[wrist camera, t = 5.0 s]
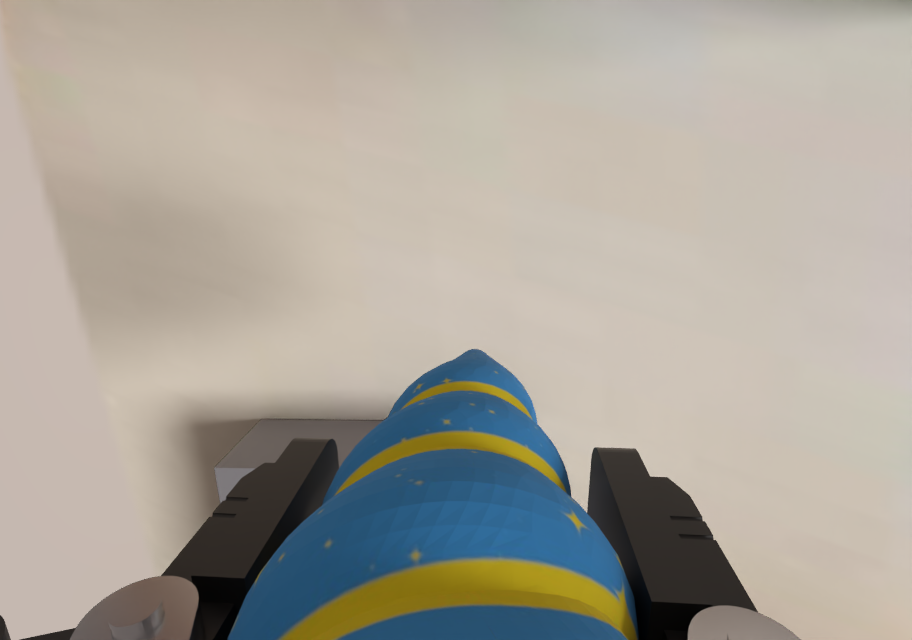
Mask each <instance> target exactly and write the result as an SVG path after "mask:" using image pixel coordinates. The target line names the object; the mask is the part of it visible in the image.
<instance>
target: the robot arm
mask: <svg viewBox="0 0 912 640" xmlns="http://www.w3.org/2000/svg"><path fill="white" fill-rule="evenodd" d="M338 469H339V460H338V450H337V445H336V442H335V440H334V439H328V438H294V439H293V440H292V441H291V442H290V443H289V445H288V446H287V447H286V449H285V450H284V451H283V453H282V454H281V455H280V457H279V458H278V459H277V461H276V462H275V463H263V464H262V465H260V466H259V467H257V468H256V469H254V470H253V471H251V472H250V473H248V474H247V475H245V476H244V477H242V478H241V479H240V480H239V481H238V483H237V484H236V485H235V486H234V488H233V489H232V490H231V491H230V492H229V494H228V495H227V496H226V500H225V501H222V502H221V503H220V505H219V506H218V507H217V508H216V510H215V511H214V512H213V516H212V517H209V518H208V519H207V521H206V522H205V523H204V524H203V525H202V527H201V528H200V529H199V530H198V531H197V533H196V534H195V535H194V536H193V538H192V539H191V540H190V541H189V542H188V544H187V545H186V546H185V547H184V549H183V550H182V551H181V552H180V553H179V555H178V556H177V557H176V558H175V560H174V561H173V562H172V563H171V564H170V566H169V567H168V568H167V569H166V571H165V572H164V573H163V574H162V575H161V576H158V577H152V578H148V579H144V580H141V581H138V582H135V583H132V584H130V585H128V586H125V587H123V588H121V589H119V590H118V591H116V592H114V593H112V594H111V595H109V596H108V597H106V598H105V599H103V600H102V601H101V602H99V603H98V604H97V605H96V606H95V607H93V608H92V609H91V610H90V611H89V612H88V613H87V614H86V615H85V617H84V618H83V619H82V620H81V621H80V623H79V624H78V626H77V627H76V628H73V629H69V630H64V631H60V632H55V633H50V634H45V635H40V636H35V637H30V638H26V639H21V640H227V639H228V636H229V634H230V632H231V629H232V627H233V625H234V622H235V620H236V618H237V616H238V613H239V611H240V609H241V606H242V604H243V602H244V600H245V597H246V595H247V593H248V592H249V590H250V588H251V587H252V585H253V583H254V582H255V580H256V578H257V577H258V575H259V573H260V572H261V570H262V569H263V568H264V566H265V565H266V564H267V562H268V561H269V560H270V559H271V557H272V556H273V555H274V553H275V552H276V551H277V549H278V548H279V547H280V546H281V544H282V543H283V542H284V541H285V539H286V538H287V537H288V536H289V535H290V534H291V533H292V532H293V531H294V530H295V529H296V528H297V527H298V526H299V525H300V524H301V523H302V522H303V521H304V520H306V519H307V518H308V517H309V516H310V515H311V514H312V513H314V512H315V511H316V510H317V509H318V508H320V507H321V506H322V503H323V500H324V497H325V495H326V493H327V491H328V489H329V487H330V485H331V483H332V481H333V479H334V477H335V475H336V473H337V471H338ZM587 514H588V515H589V516H590V517H591V518H592V519H593V520H594V522H595V523H596V524H597V525H598V527H599V528H600V530H601V531H602V533H603V534H604V535H605V537H606V538H607V540H608V541H609V543H610V544H611V546H612V547H613V549H614V550H615V552H616V553H617V555H618V556H619V559H620V562H621V564H622V567H623V569H624V572H625V574H626V577H627V580H628V582H629V585H630V587H631V590H632V592H633V595H634V600H635V608H636V616H637V624H638V631H639V640H801V639H799V638H798V637H797V636H796V635H795V634H794V633H793V632H791V631H790V630H788V629H787V628H786V627H784V626H783V625H781V624H780V623H778V622H776V621H774V620H773V619H771V618H769V617H767V616H765V615H763V614H760V613H758V611H757V610H756V608H755V606H754V604H753V603H752V601H751V599H750V598H749V596H748V594H747V593H746V591H745V589H744V587H743V586H742V584H741V582H740V581H739V579H738V577H737V575H736V574H735V572H734V570H733V569H732V567H731V565H730V564H729V562H728V560H727V558H726V557H725V555H724V553H723V552H722V550H721V548H720V547H719V545H718V543H717V541H716V540H713V535H712V533H711V531H710V529H709V528H708V526H707V524H706V523H705V521H703V520H702V516H701V514H700V512H699V511H698V509H697V507H696V506H695V504H694V502H693V500H692V499H691V497H690V496H689V495H688V494H687V493H686V492H685V491H683V490H682V489H681V488H680V487H678V486H677V485H676V484H675V483H674V482H672V481H671V480H670V479H669V478H667V477H650V476H649V474H648V472H647V469H646V467H645V465H644V463H643V461H642V459H641V457H640V455H639V453H638V452H637V450H636V449H627V448H596V447H595V448H594V449H593V453H592V459H591V472H590V485H589V498H588V511H587ZM0 640H11V639H10V636H9V633H8V630H7V627H6V624H5V621H4V619H3V618H2V617H1V616H0Z"/></svg>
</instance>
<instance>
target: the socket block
mask: <svg viewBox="0 0 912 640" xmlns="http://www.w3.org/2000/svg"><path fill="white" fill-rule="evenodd" d="M381 422H382V421H381V420H297V419H261V420H260V421H259V422H258V423H257V424H256V425H255V426H254V427H253V428H252V429H251V430H250V431H249V432H248V433H247V434H246V435H245V436H244V437H243V438H242V440H241V441H240V442H239V443H238V444H237V445H236V446H235V447H234V448H233V449H232V450H231V451H230V452H229V453H228V454H227V455H226V456H225V457H224V458H223V459H222V460H221V461H220V462H219V463H218V464H217V465H216V466H215V467H214V470H215V476H216V482H217V488H218V494H219V500H220V503H221V502H222V501H225V500H226V496H227V495H228V494H229V492H230V491H231V490H232V489H233V488H234V486H235V485H236V484H237V483H238V481H239V480H240V479H241V478H242V477H244V476H245V475H247V474H248V473H250V472H251V471H253V470H254V469H256V468H257V467H259V466H260V465H262V464H263V463H275V462H276V461H277V459H278V458H279V457H280V455H281V454H282V453H283V451H284V450H285V449H286V447H287V446H288V445H289V443H290V442H291V441H292V440H293V439H294V438H328V439H334V440H335V442H336V445H337V450H338V460H339V468H340V466H341V465H342V463H343V461H344V460H345V459H346V457H347V456H348V455H349V454H350V452H351V451H352V450H353V448H354V447H355V446H356V445H357V444H358V443H359V442H360V441H361V440H362V439H363V438H364V437H365V436H366V435H367V434H368V433H369V432H370V431H371V430H372V429H374V428H375V427H376V426H377V425H378V424H380V423H381Z"/></svg>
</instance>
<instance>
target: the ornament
mask: <svg viewBox="0 0 912 640" xmlns="http://www.w3.org/2000/svg"><path fill="white" fill-rule="evenodd" d="M227 640H639V631H638V624H637V616H636V608H635V600H634V595H633V592H632V590H631V587H630V585H629V582H628V580H627V577H626V574H625V572H624V569H623V567H622V564H621V562H620V559H619V556H618V555H617V553H616V552H615V550H614V549H613V547H612V546H611V544H610V543H609V541H608V540H607V538H606V537H605V535H604V534H603V533H602V531H601V530H600V528H599V527H598V525H597V524H596V523H595V522H594V520H593V519H592V518H591V517H590V516H589V515H588V514H587V513H586V512H585V511H584V509H583V508H582V507H581V506H580V505H579V504H578V503H577V502H576V501H575V500H574V499H573V498H571V489H570V484H569V480H568V476H567V472H566V469H565V466H564V463H563V461H562V459H561V457H560V455H559V453H558V451H557V449H556V447H555V446H554V444H553V443H552V442H551V440H550V439H549V438H548V436H547V435H546V434H545V433H544V431H543V430H542V429H541V428H540V427H539V426H538V425H537V418H536V413H535V410H534V407H533V404H532V400H531V399H530V397H529V395H528V393H527V392H526V390H525V388H524V387H523V385H522V384H521V383H520V382H519V381H518V379H517V378H516V377H515V376H514V375H513V374H512V373H511V372H509V371H508V370H507V369H506V368H504V367H503V366H502V365H500V364H499V363H498V362H496V361H495V360H493V359H492V358H491V357H489V356H488V355H487V354H486V353H484V352H483V351H481V350H478V349H471V350H468V351H467V352H465V353H463V354H462V355H461V356H459V357H457V358H456V359H454V360H452V361H449V362H446V363H444V364H442V365H440V366H438V367H436V368H434V369H432V370H431V371H429V372H427V373H425V374H423V375H422V376H421V377H420V378H418V379H417V380H416V381H415V382H414V383H412V384H411V385H410V386H409V387H408V388H407V389H406V390H405V391H404V393H403V394H402V395H401V396H400V398H399V399H398V400H397V401H396V403H395V404H394V406H393V408H392V410H391V412H390V414H389V416H388V418H386V419H385V420H383V421H382V422H381V423H380V424H378V425H377V426H376V427H375V428H374V429H372V430H371V431H370V432H369V433H368V434H367V435H366V436H365V437H364V438H363V439H362V440H361V441H360V442H359V443H358V444H357V445H356V446H355V447H354V448H353V450H352V451H351V452H350V454H349V455H348V456H347V457H346V459H345V460H344V461H343V463H342V465H341V466H340V468H339V469H338V471H337V473H336V475H335V477H334V479H333V481H332V483H331V485H330V487H329V489H328V491H327V493H326V495H325V497H324V500H323V503H322V506H321V507H320V508H318V509H317V510H316V511H315V512H314V513H312V514H311V515H310V516H309V517H308V518H307V519H306V520H304V521H303V522H302V523H301V524H300V525H299V526H298V527H297V528H296V529H295V530H294V531H293V532H292V533H291V534H290V535H289V536H288V537H287V538H286V539H285V541H284V542H283V543H282V544H281V546H280V547H279V548H278V549H277V551H276V552H275V553H274V555H273V556H272V557H271V559H270V560H269V561H268V562H267V564H266V565H265V566H264V568H263V569H262V570H261V572H260V573H259V575H258V577H257V578H256V580H255V582H254V583H253V585H252V587H251V588H250V590H249V592H248V593H247V595H246V597H245V600H244V602H243V604H242V606H241V609H240V611H239V613H238V616H237V618H236V620H235V622H234V625H233V627H232V629H231V632H230V634H229V636H228V639H227Z"/></svg>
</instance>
